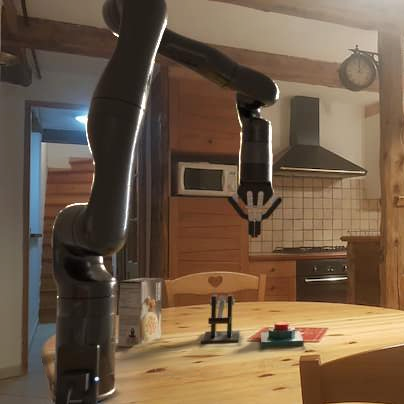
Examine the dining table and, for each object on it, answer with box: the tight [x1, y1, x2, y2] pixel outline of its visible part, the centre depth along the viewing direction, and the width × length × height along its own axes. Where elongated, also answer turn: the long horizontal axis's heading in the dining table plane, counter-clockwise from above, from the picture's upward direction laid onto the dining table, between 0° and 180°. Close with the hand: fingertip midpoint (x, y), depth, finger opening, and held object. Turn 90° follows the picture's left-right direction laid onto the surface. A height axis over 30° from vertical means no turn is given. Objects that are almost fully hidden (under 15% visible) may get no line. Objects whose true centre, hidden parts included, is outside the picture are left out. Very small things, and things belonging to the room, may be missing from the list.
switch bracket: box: [200, 293, 241, 344], centre depth 134 cm, size 12×9×12 cm
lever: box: [207, 295, 230, 325], centre depth 130 cm, size 12×5×2 cm, turn 11°
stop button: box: [273, 321, 290, 331], centre depth 130 cm, size 4×4×2 cm
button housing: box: [260, 326, 305, 349], centre depth 130 cm, size 12×10×4 cm
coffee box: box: [117, 277, 163, 348], centre depth 131 cm, size 9×6×16 cm
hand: (254, 237), depth 120 cm, fingers closed
